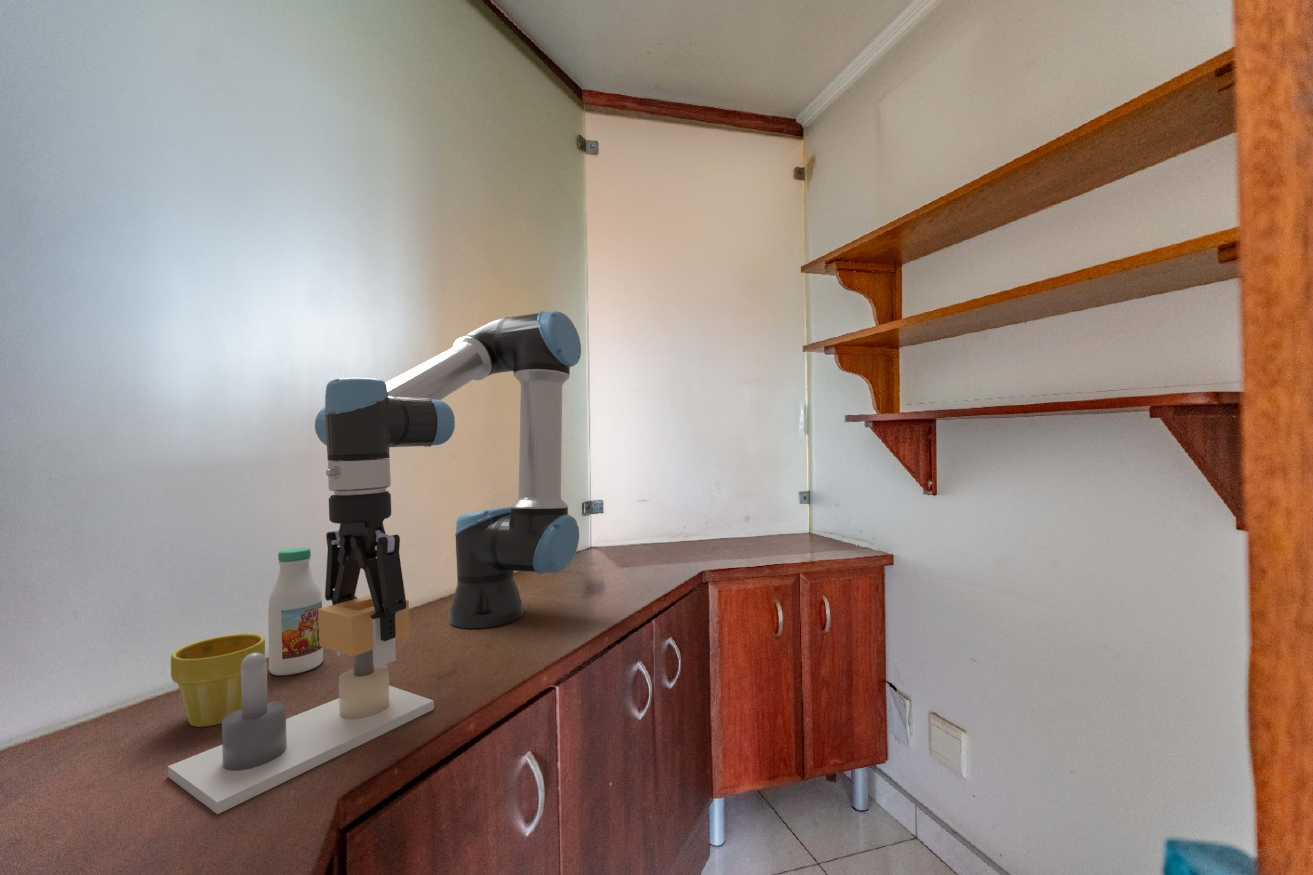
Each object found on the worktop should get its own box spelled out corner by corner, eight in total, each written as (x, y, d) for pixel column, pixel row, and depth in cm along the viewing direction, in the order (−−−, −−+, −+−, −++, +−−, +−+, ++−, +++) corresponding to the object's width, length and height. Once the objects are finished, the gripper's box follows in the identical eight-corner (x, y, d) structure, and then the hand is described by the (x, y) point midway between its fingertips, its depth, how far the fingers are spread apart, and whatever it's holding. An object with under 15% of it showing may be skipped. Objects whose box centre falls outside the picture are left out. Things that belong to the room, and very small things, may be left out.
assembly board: (379, 689, 83) (377, 602, 84) (433, 709, 77) (431, 613, 77) (168, 776, 62) (166, 659, 62) (217, 814, 55) (215, 682, 55)
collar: (376, 627, 81) (375, 593, 81) (409, 636, 77) (408, 600, 77) (319, 646, 74) (318, 608, 74) (352, 656, 70) (351, 617, 70)
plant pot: (280, 707, 79) (279, 638, 79) (191, 742, 70) (189, 664, 70) (245, 692, 84) (244, 628, 84) (158, 723, 75) (157, 651, 75)
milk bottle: (261, 679, 89) (258, 555, 89) (279, 662, 96) (277, 547, 96) (315, 672, 91) (313, 551, 91) (329, 656, 98) (326, 543, 99)
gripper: (292, 492, 78) (297, 653, 78) (378, 496, 67) (385, 683, 67) (345, 487, 84) (351, 636, 84) (432, 490, 73) (438, 661, 73)
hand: (366, 657), depth 75 cm, fingers closed on collar, 8 cm apart
